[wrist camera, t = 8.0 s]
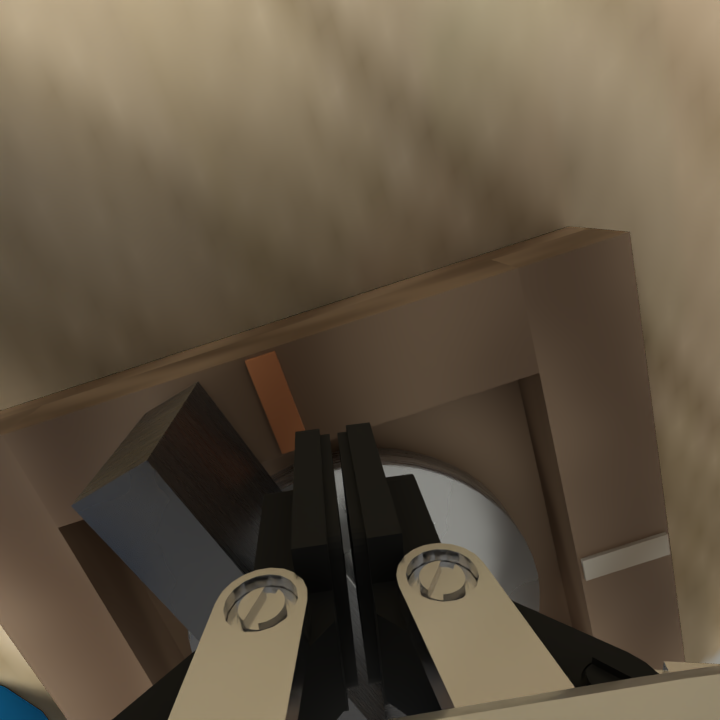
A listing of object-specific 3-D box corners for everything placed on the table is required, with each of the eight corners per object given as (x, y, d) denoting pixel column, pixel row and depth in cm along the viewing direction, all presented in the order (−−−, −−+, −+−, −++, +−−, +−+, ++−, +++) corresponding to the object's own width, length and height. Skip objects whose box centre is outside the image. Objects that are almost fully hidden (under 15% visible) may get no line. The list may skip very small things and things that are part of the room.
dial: (574, 626, 19) (695, 823, 13) (313, 762, 20) (312, 1005, 14) (363, 264, 14) (399, 309, 8) (33, 466, 15) (-153, 639, 9)
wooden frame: (213, 809, 22) (196, 909, 19) (-28, 419, 16) (-112, 473, 13) (643, 673, 22) (698, 751, 19) (568, 226, 16) (632, 232, 13)
